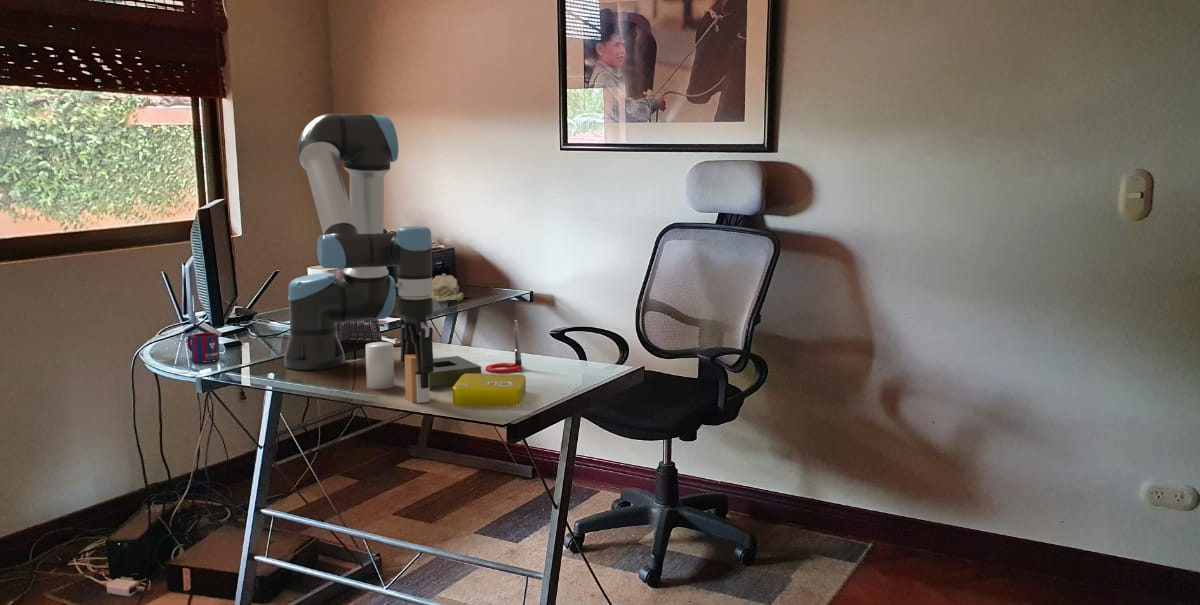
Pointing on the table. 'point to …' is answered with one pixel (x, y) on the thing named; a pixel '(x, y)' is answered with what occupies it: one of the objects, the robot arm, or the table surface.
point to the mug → (204, 346)
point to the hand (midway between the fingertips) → (417, 398)
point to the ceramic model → (446, 288)
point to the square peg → (411, 377)
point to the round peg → (380, 365)
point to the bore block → (450, 371)
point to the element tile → (489, 390)
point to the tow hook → (513, 366)
